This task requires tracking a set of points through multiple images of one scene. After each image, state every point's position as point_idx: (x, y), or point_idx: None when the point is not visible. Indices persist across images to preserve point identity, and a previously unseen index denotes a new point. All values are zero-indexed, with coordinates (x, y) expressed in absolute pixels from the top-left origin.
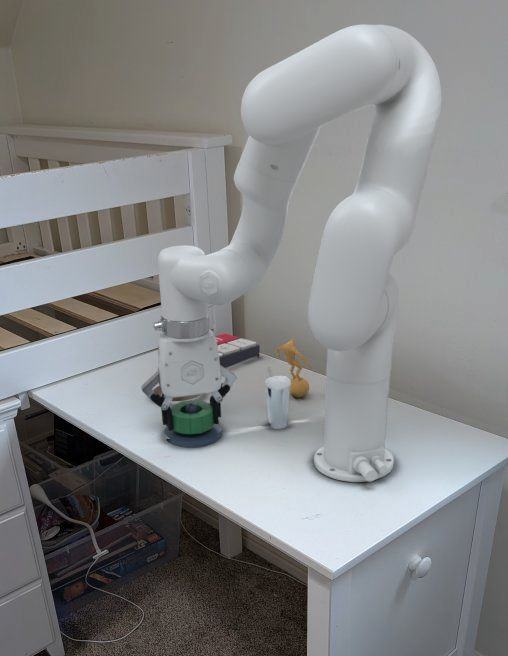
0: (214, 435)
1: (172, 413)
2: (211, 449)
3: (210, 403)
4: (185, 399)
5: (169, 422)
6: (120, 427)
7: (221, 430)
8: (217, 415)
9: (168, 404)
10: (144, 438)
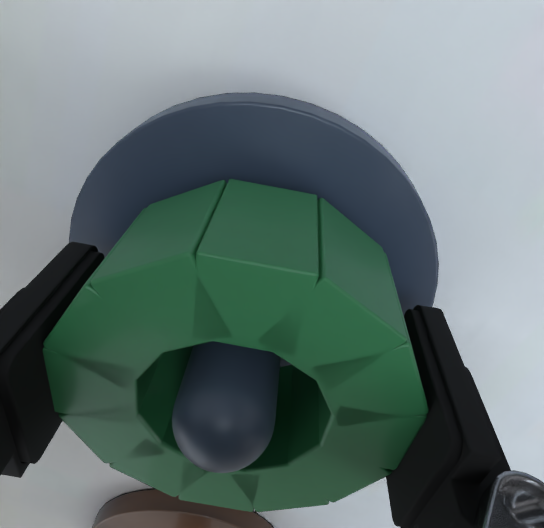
0: (143, 147)
1: (412, 421)
2: (221, 7)
3: (51, 416)
4: (179, 515)
5: (452, 352)
6: (519, 471)
7: (78, 196)
8: (41, 280)
9: (497, 525)
10: (507, 354)
